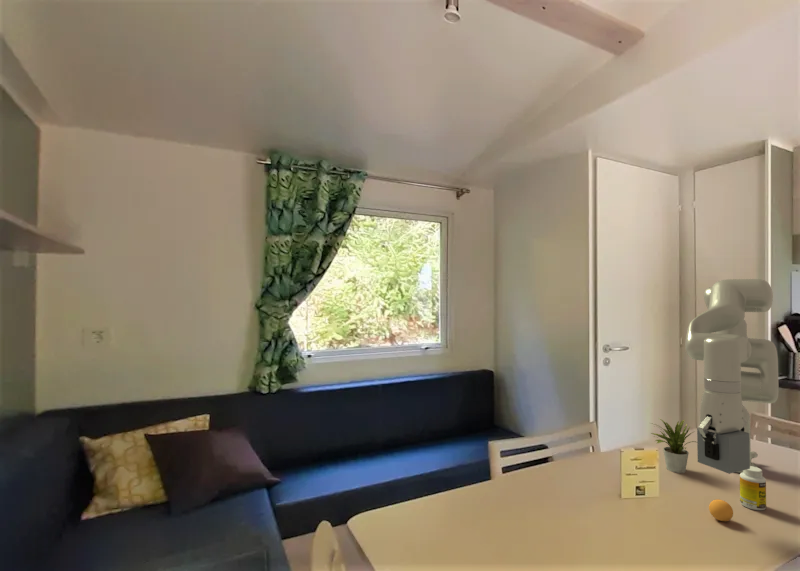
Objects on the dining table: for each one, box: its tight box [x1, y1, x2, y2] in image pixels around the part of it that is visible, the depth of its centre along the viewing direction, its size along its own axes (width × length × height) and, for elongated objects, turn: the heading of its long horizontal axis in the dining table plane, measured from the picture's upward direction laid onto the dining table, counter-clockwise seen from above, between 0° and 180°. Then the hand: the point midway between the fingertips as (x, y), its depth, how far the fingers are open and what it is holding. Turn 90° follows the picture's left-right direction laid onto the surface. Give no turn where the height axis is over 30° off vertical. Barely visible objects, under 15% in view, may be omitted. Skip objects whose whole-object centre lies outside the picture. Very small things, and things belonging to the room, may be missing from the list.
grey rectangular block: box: [696, 427, 751, 475], centre depth 111 cm, size 8×8×9 cm
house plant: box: [650, 418, 696, 474], centre depth 144 cm, size 14×14×16 cm
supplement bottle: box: [739, 466, 767, 511], centre depth 119 cm, size 6×6×10 cm
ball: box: [708, 498, 734, 522], centre depth 112 cm, size 5×5×5 cm
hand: (723, 455), depth 111 cm, fingers closed on grey rectangular block, 7 cm apart
